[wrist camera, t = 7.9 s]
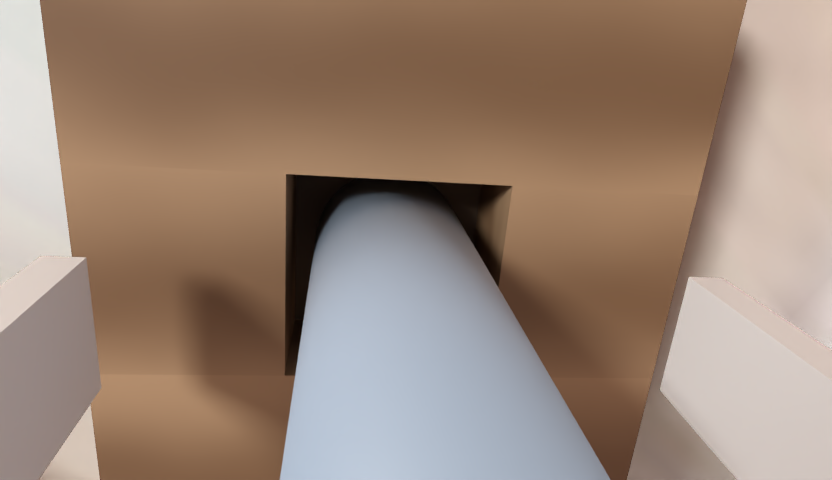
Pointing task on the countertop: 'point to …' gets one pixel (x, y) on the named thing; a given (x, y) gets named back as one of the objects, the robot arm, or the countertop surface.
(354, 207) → the dowel
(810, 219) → the countertop surface
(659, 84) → the board
